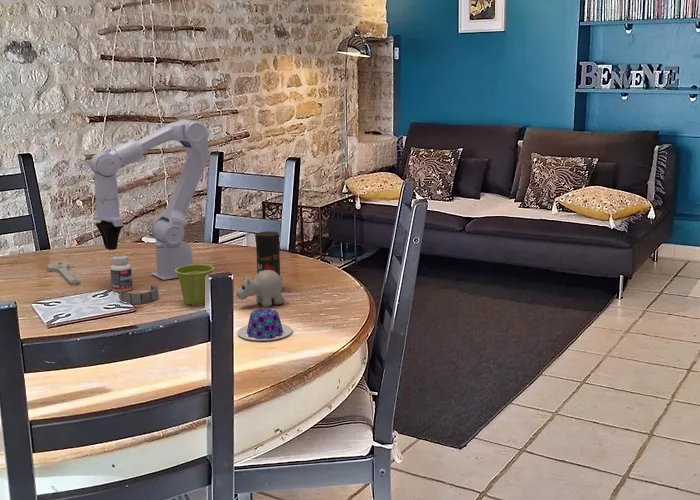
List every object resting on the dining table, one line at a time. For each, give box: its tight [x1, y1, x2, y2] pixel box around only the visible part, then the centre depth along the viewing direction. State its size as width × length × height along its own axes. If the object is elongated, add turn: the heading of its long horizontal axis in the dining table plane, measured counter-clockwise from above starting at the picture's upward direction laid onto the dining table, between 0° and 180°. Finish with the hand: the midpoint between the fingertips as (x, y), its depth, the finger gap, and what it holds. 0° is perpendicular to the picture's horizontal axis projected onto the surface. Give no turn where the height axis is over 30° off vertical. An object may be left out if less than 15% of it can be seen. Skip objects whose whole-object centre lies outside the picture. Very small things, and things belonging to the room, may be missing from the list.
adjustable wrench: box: [46, 261, 81, 287], centre depth 224 cm, size 25×6×2 cm, turn 27°
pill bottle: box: [110, 254, 133, 293], centre depth 209 cm, size 5×5×9 cm
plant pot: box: [175, 263, 215, 306], centre depth 197 cm, size 9×9×9 cm
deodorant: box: [255, 230, 281, 277], centre depth 206 cm, size 6×6×15 cm
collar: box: [117, 284, 160, 305], centre depth 200 cm, size 10×6×2 cm, turn 127°
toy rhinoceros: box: [234, 270, 285, 308], centre depth 194 cm, size 7×12×8 cm, turn 116°
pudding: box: [237, 307, 293, 342], centre depth 174 cm, size 12×12×5 cm
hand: (111, 248), depth 212 cm, fingers closed
